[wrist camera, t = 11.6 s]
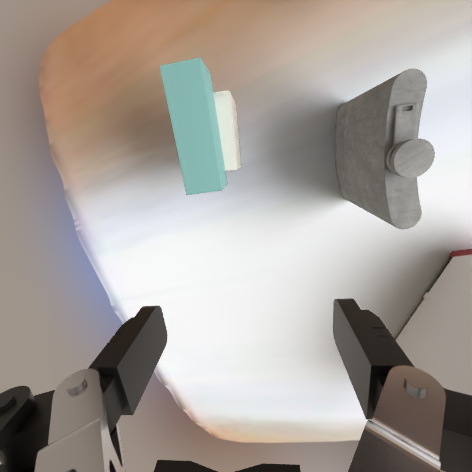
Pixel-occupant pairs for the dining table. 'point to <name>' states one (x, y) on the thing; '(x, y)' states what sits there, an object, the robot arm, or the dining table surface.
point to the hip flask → (384, 149)
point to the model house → (444, 327)
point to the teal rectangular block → (195, 125)
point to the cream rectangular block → (228, 129)
